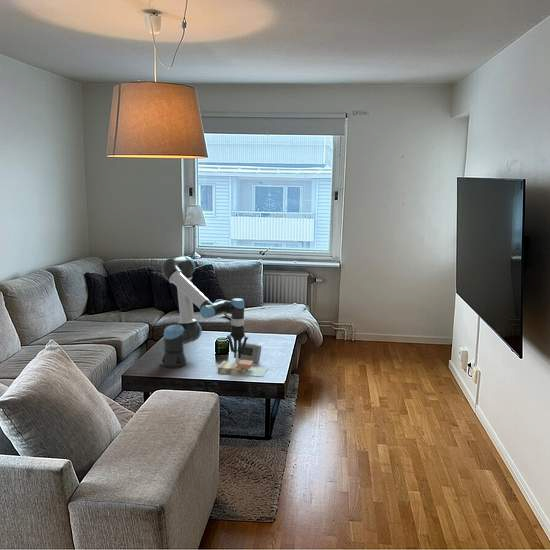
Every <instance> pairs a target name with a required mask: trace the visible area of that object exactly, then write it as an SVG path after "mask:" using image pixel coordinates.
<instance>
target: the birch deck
mask: <svg viewBox="0 0 550 550" xmlns="http://www.w3.org/2000/svg"><path fill="white" fill-rule="evenodd" d="M247 370H248V369H246V368H237V364H236V361H231V360H230V361H229V360H223V361H222V362H221V363H220V364H219V365H218V367H217V373H221V372H226V373H225V374H231V373H235V374H234V375H242V374H243V376H245V373H246V371H247Z"/></svg>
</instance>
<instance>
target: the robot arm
mask: <svg viewBox="0 0 550 550" xmlns="http://www.w3.org/2000/svg"><path fill="white" fill-rule="evenodd" d="M195 271H196V263H195V261H194V260H193V258H191V257H190V256H187V255H180V256H175V257H170V258H167V259H166V260H164V262H163V264H162V267H161V272H162V274H163V277H164V278H165V279H166V281H168V282H169V283H170V284H173V285H174V286H175V287H176V289H177V300H178V308H179V321H178V322H177V323H178V324H170V325H167V326H166V327H165V328H164V330H163V348H164V349H163V351H164V352H163V354H162V358H161V363H160V364H161V366H162V367H163V368H167V369H168V368H169V369H177V368H182V367H185V366H186V365H187V364H186V363H187V362H188V361H187V358H186V355H185V351H184V350H185V349H184V348H185V347H184V346H185V345H186V344H190V343H193V342H195V341H197V340H198V339H200V338H201V335H202V326H201V325H200V323H199V322H198V320H197V319H196V318H195V312H194V305H195V306H196V307H197V308H198V309H199V312H200V316H201V317H202V318H204V319H210V318H213V317H217V316H219V315H222V314H228V315H230V316H231V317H230V319H231V321H230V323H231V326H230V334H228V335H227V336H226V339H227V340H228V344H229V347H230V351H231V352H232V353H233V358H234V359H235V362H236V364H237V363H238V362H239V361H240V360H239V358H241V353H243V351H244V349H245V345H246V343H247V341H248V339H249V336H247V335H245V301H244V299H243V298H240V297H239V298H238V297H237V298H232V299H231V300H224V299H216V300H215V301H214V302H212V301H211V300H210V299H209V298H208V297H207V296H205V294H204V293H203V292H201V291H200V289H199V288H197V286H195V285H194V284H193V282H192V279H193V273H194V272H195ZM232 339H233V340H232ZM242 339H243V342H242ZM241 343H243V346H242V350H241ZM237 349H238V352H237Z"/></svg>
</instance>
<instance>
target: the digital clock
mask: <svg viewBox="0 0 550 550" xmlns="http://www.w3.org/2000/svg"><path fill="white" fill-rule="evenodd" d="M242 346H243V342H241V350H242ZM237 352H238V348H237ZM261 353H262V346H261V345H259V344H255V343H249V342H246V345H245V349H244V351H243V353H241V358H239V361H240V360H248V361H253V362H255V363H256V364H259V363H260V359H261ZM255 363H254V364H255Z"/></svg>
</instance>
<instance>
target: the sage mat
mask: <svg viewBox="0 0 550 550" xmlns="http://www.w3.org/2000/svg"><path fill="white" fill-rule="evenodd" d="M267 370H269V368H268V367H258V366H252V367H251V369H248V370H247V372H246V373H245V374H244V376H248V377H257V376H258V377H259V378H264V376H265V374H266V373H265V372H267Z"/></svg>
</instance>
